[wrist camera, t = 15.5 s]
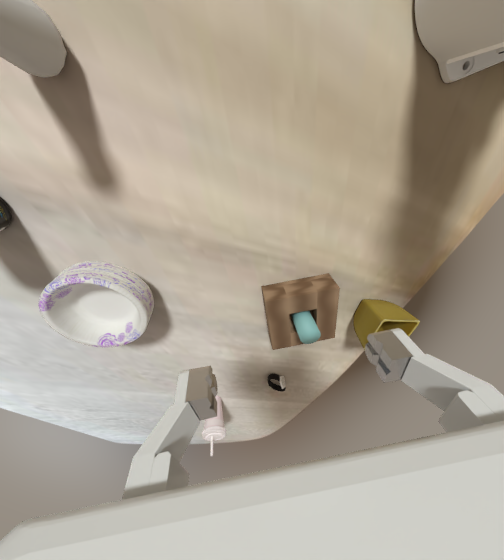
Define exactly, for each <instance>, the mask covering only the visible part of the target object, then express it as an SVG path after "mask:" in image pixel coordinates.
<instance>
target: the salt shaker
mask: <svg viewBox="0 0 504 560" xmlns="http://www.w3.org/2000/svg"><path fill="white" fill-rule="evenodd" d="M66 56H67V51H66V49H65V47H64V44H63V41H62V38H61V35H60V32H59V31H58V29H57V28H56V26H55V24H54V23H53V21H52V20H51V18H50V17H49V15H48V14H47V13H46V12H45V11H44V10H42V9H41V8H40V7H39V6H38V5H37V4H35V3H34V2H33V1H32V0H0V57H2V58H4V59H5V60H7V61H8V62H10V63H12V64H13V65H15V66H17V67H18V68H20V69H22V70H23V71H25V72H27V73H28V74H32V75H36V76H39V77H43V78H46V77H51V76H56V75H58V74H59V73H60V72H61V70H62V68H63V67H64V64H65V59H66Z"/></svg>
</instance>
